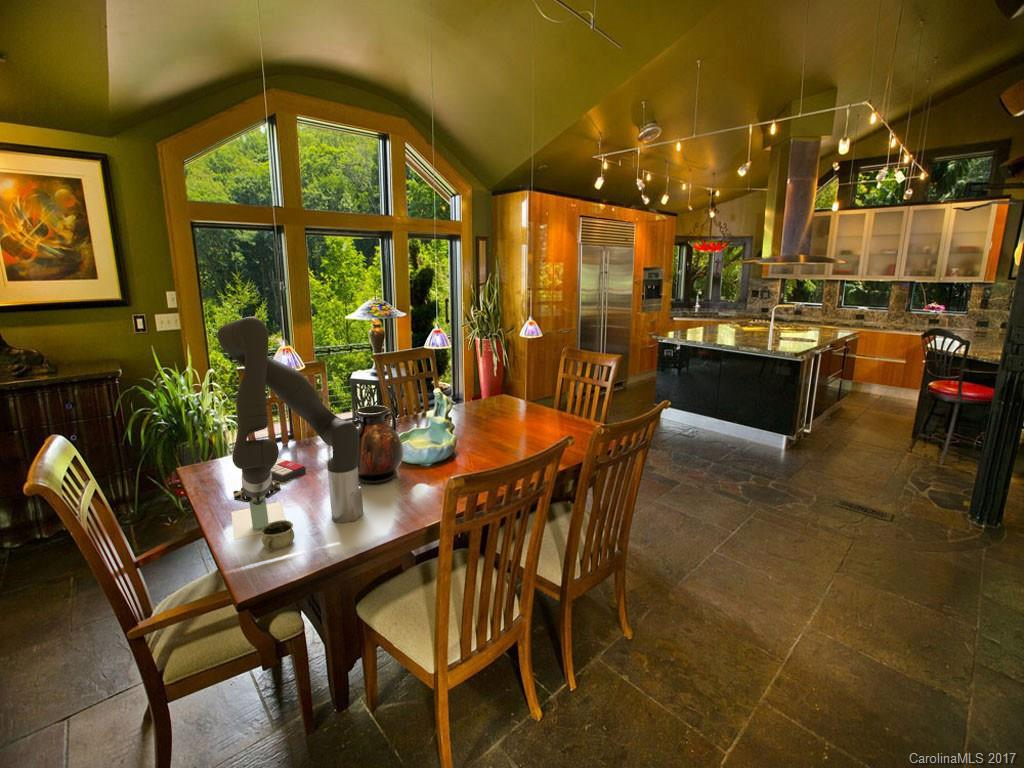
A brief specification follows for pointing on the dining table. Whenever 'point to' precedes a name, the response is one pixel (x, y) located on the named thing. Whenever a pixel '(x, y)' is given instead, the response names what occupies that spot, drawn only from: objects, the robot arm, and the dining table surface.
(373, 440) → the amphora vase
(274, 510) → the mat
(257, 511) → the block
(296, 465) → the calculator
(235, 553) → the dining table surface
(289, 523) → the vessel
